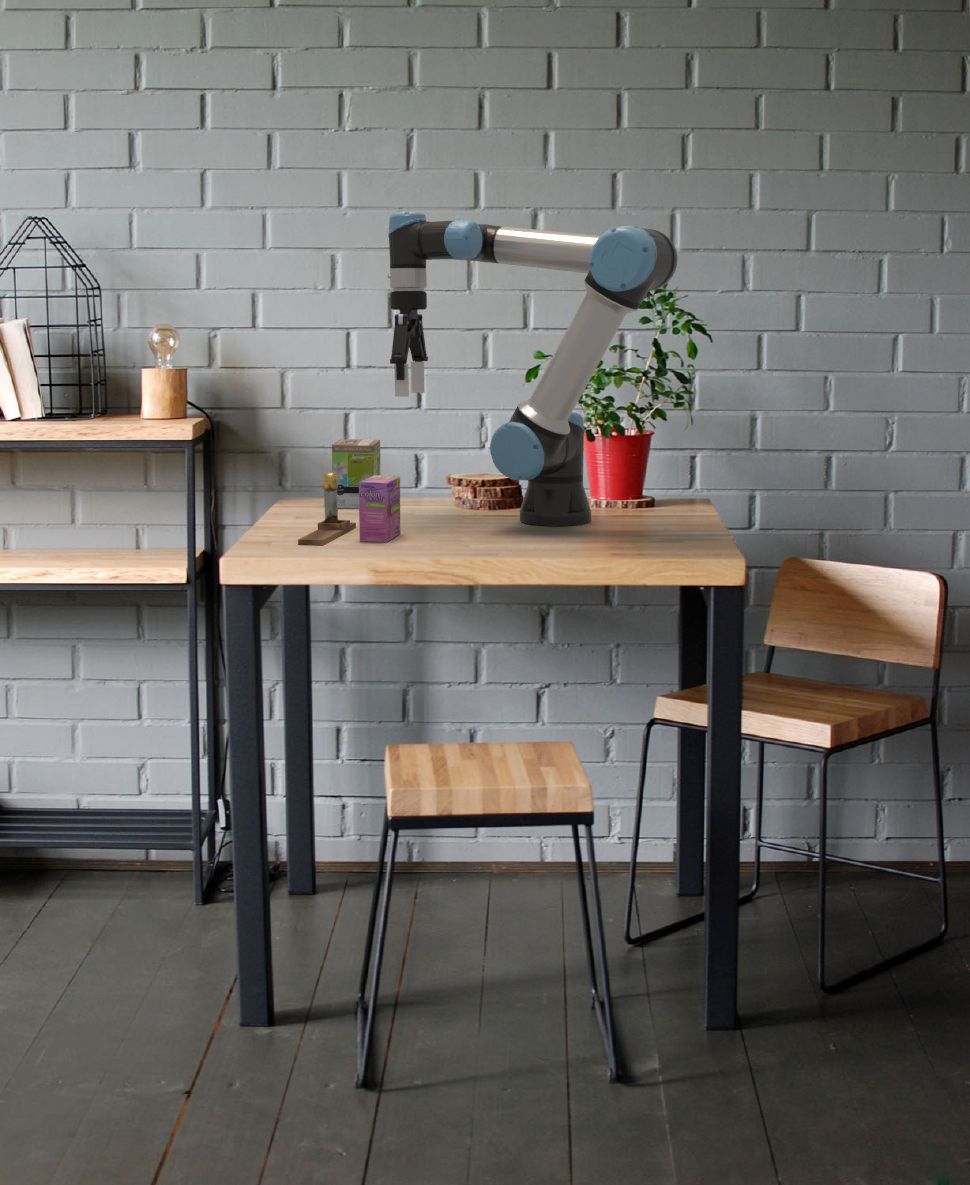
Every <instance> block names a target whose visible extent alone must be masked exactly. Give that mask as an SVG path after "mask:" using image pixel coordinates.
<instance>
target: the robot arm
mask: <svg viewBox="0 0 970 1185" xmlns="http://www.w3.org/2000/svg"><path fill="white" fill-rule="evenodd" d="M388 221H389V222H388V244H389V273H387V276H386V277H387V279H390V280H389V286H390V288H391V289H392V291H390V294H389V296H390V297H389V298H390V299H389V302H390V307H389V308H390V309H391V310H393V311H394V310H395V311H398V310H399V313H396V314H394V328H393V329H394V330H393V337H392V338H393V339H392V346H391V355H390V359H389V363H390V365H394V397H401V398H403V397H405V398H407V397H410V390H411V393H412V394H413V393H414V394H415V393H417V394H419V393H422V394H423V393H425V392H426V390H425V362H428V361H429V356H427V350H426V340H425V334H424V326H423V314H421V313H419V312H418V311H419V310H420V311H421V310H423V311H424V310H427V308H428V299H427V297H428V296H427V295H428V293H427V292H426V291H425V289H426V288H427V287H428V282H427V281H428V279H427V277H428V276H427V261H429V260H431V261H432V260H454V261H457V260H458V261H468V262H469V261H471V262H472V261H473V262H480V263H489V264H490V263H491V264H502V265H510V266H511V265H512V266H518V267H519V266H521V267H528V268H536V269H546V270H554V271H563V272H571V273H572V272H573V273H581V274H586V277H585V279H584V281H583V283H584V287H585V289H586V293H585V295H584V297H583V299H582V301H581V303H580V305H579V307H578V308H577V310H576V312H575V314H574V315H573V317H572V320H571V322H570V323H569V326H568V327H567V329H566V331H565V332H564V335H563V336H562V337H561V338H562V339H561V340H560V342H559V344H558V346H557V347H556V349H555V352H554V353H553V355H552V357H551V359H550V360H549V361H548V362H549V363H548V365H546V368H545V370H544V372H543V374H542V376H541V378H540V380H539V381H538V383H537V385H536V387H535V389H534V391H533V393H532V394H531V395H530V398H528V399H526V400H523V401H520V402H519V403H518V405H517V406H516V407H515V409H514V411H513V413H512V415H511V417H510V419H509V421H508V422H506V423H503V424H502V425H501V426H499V427H498V428H497V429H496V430H495V431H494V433H493V435H492V437H491V440H490V447H489V450H490V451H489V452H490V455H491V459H492V462H493V464H494V466H495V468H496V469H497V470H498V471H499V473H501V474H502V475H503V476H504V477H506V478H508V479H510V480H515V481H527V487H526V491H525V493H524V496H523V500H522V502H521V505H520V509H519V521H520V522H521V523H523V524H527V525H535V526H536V525H537V526H550V527H551V526H552V527H553V526H554V527H556V526H558V527H559V526H563V527H565V526H575V525H576V526H577V525H584V524H588V523H590V522H591V521H592V509H591V506H590V503H589V499H588V496H587V494H586V490H585V487H584V448H585V447H584V445H585V443H584V442H585V440H584V439H585V438H584V437H585V427H584V418H583V416H582V415H581V414H579V413H577V412H573V411H574V409H575V407H576V406H577V404H578V402H579V401H580V398H581V397H582V395H583V393H584V391H585V389H586V388H587V386H588V384H589V382H590V381H591V379H592V377H593V375H594V373H595V372H596V370H597V368H598V366H599V364H600V362H601V360H602V359H603V357H604V355H605V353H606V351H607V350H608V348H609V346H610V344H611V342H613V339H614V337H615V336H616V333H617V332H618V330H619V328H620V326H621V325H622V322H623V321H624V319H625V317H626V315H627V314H630V313H631V314H632V313H634V312H637V311H638V310H639V308H640V306H641V305H642V303H643V301H644V299H645V298H646V296H647V294H648V292H651V291H655V290H656V291H657V290H658V289H660V288H662V287H664V286H665V285H667V284H668V283H669V281H670V280H671V279H672V278H673V277H674V274H675V273H676V270H677V267H678V259H679V257H678V252H677V249H676V247H675V245H674V243H673V241H672V239H671V238H669V237H668V236H667V235H666V234H665V233H663V232H661V231H659V230H656V229H652V228H651V229H650V228H643V227H639V226H636V225H621V226H616V227H612V228H610V229H608V230H606V231H605V232H604V233H602V234H601V235H596V234H587V233H586V234H585V233H577V232H576V233H575V232H566V231H565V232H564V231H557V230H555V231H554V230H544V229H533V228H525V227H524V228H522V227H512V226H501V225H493V224H486V223H477V222H476V221H474V220H471V219H469V220H467V219H455V220H443V221H442V220H441V221H427V217H426V215H425V213H424V212H422V211H421V212H420V211H396V212H392V213H391V214H390V216H389V220H388ZM409 351H410V355H411V360H412V361H410V377H409V363H407V362H408V358H409ZM409 378H410V379H409ZM409 380H410V381H411V382H410V384H411V386H410V387H411V389H410V390H409V388H410V387H409V385H410V384H409Z"/></svg>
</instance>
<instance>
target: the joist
mask: <svg viewBox="0 0 970 1185" xmlns="http://www.w3.org/2000/svg"><path fill="white" fill-rule="evenodd" d="M356 528H357V523H356V522H351V520H350V519H338V523H325V519H323V520H322V521H320V522H318V523H317V529H316V530H314V531H312V532H310V533H308V534H306V535H305V536H302V537H300V538H298V539H297V544H298V545H300V546H301V545H302V546H324V545H326V544H328V543H330V542H332V541H334V540H336V539H338V538H339V537H341V536H343V535H345V534H347V533H348V532H350V531H353V530H354V529H356Z"/></svg>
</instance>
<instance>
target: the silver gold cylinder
mask: <svg viewBox="0 0 970 1185" xmlns="http://www.w3.org/2000/svg"><path fill="white" fill-rule="evenodd" d="M321 474H322V489H323V500H324V504H323V505H324V520H325V523H338V520H339V516H338V514H339V512H338V511H339V510H338V509H339V508H338V507H337V488H338V478H337V473H335V472H332V471H331V472H323V473H321Z"/></svg>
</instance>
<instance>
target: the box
mask: <svg viewBox="0 0 970 1185" xmlns="http://www.w3.org/2000/svg"><path fill="white" fill-rule="evenodd" d="M358 512H359V514H358V515H359V516H358V518H359V519H358V520H359V522H358V523H359V525H358V526H359V529H358V530H359V542H360V543H374V544H375V543H379V544H380V543H383V544H387V543H388V542H390V541H391V540H393V539H395V538H396V537H398V536H399V535H401V476H399V475H381V474H380V475H374V476H372V477H370V478H368V479H365V480H363V481H361V482H359V509H358Z"/></svg>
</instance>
